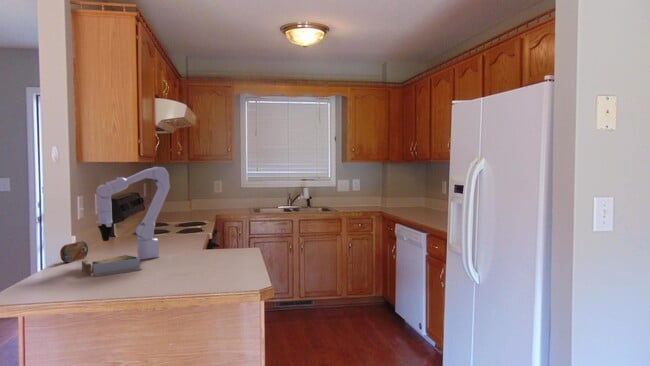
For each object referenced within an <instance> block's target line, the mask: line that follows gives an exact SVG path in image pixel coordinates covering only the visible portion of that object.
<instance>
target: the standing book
mask: <svg viewBox="0 0 650 366" xmlns="http://www.w3.org/2000/svg"><path fill="white" fill-rule="evenodd" d="M81 260H82V261H81V271H82V273H83V274H84V275H85V277H89V276H90V277H91V276H92V264H91V263H90V262H89V261H88V260H87V259H81Z"/></svg>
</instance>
